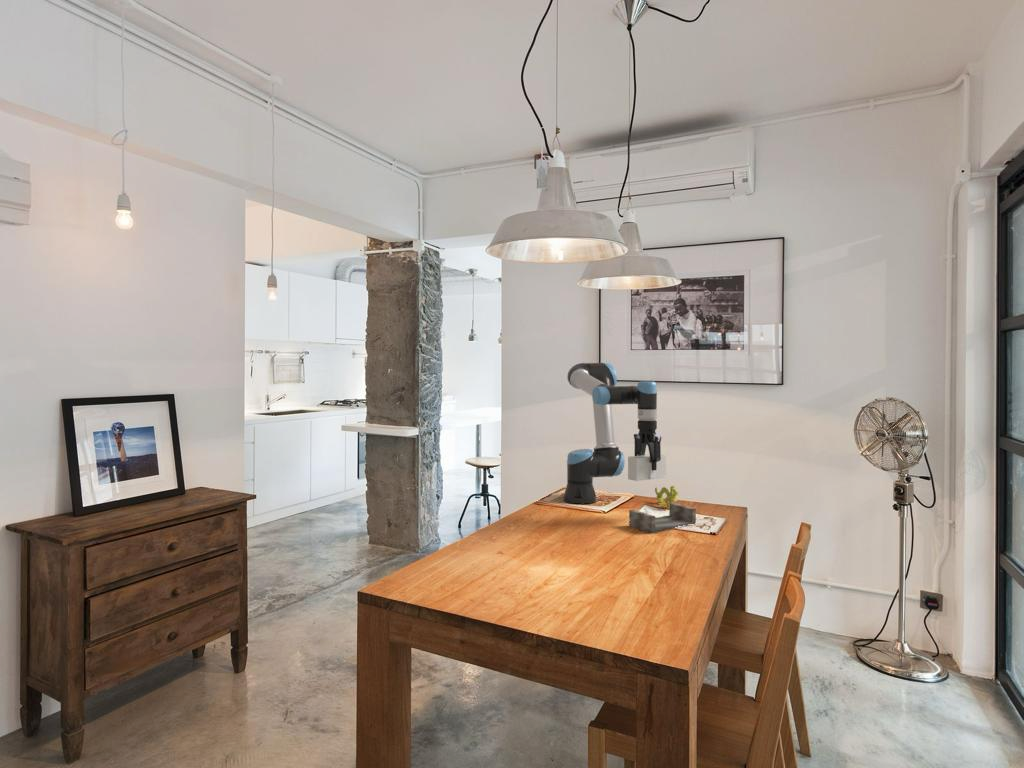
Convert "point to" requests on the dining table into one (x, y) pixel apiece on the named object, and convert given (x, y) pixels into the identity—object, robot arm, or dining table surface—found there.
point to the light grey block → (645, 467)
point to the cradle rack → (663, 519)
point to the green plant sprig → (670, 496)
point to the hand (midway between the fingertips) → (647, 477)
